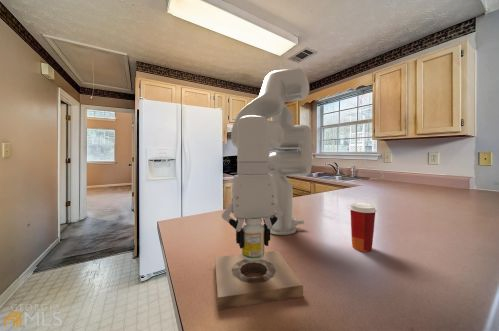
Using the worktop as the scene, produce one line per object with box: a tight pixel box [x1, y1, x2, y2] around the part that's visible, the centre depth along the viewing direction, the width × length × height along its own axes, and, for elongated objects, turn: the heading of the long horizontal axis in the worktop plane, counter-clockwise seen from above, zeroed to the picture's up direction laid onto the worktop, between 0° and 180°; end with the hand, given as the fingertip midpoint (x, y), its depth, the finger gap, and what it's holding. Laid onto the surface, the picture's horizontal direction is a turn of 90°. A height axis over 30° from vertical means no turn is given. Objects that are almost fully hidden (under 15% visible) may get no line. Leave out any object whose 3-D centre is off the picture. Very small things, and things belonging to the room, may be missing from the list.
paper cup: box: [348, 202, 378, 253], centre depth 65 cm, size 8×8×14 cm
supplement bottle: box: [241, 218, 265, 261], centre depth 49 cm, size 5×5×10 cm
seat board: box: [214, 250, 304, 310], centre depth 49 cm, size 18×16×2 cm
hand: (253, 244), depth 49 cm, fingers closed on supplement bottle, 5 cm apart
